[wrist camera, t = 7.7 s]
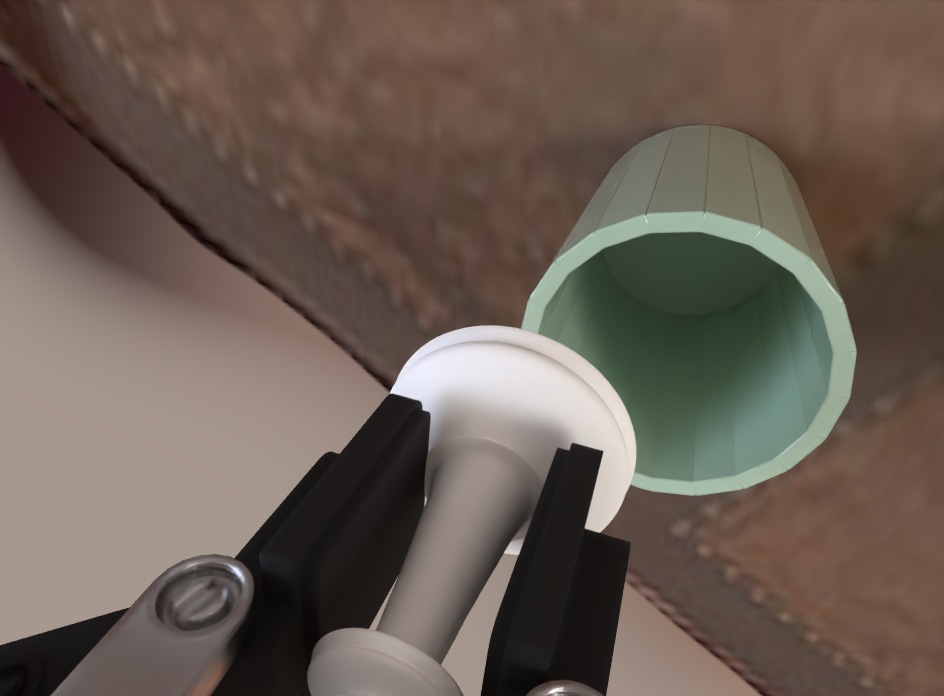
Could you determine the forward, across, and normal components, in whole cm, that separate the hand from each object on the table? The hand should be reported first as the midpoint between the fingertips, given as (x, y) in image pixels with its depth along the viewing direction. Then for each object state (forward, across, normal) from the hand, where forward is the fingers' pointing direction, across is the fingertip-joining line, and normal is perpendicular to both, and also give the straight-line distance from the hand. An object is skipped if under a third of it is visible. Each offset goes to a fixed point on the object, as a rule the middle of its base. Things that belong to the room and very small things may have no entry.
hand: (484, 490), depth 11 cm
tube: (+19, -3, +1) cm, 19 cm away
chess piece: (+2, 0, 0) cm, 2 cm away
